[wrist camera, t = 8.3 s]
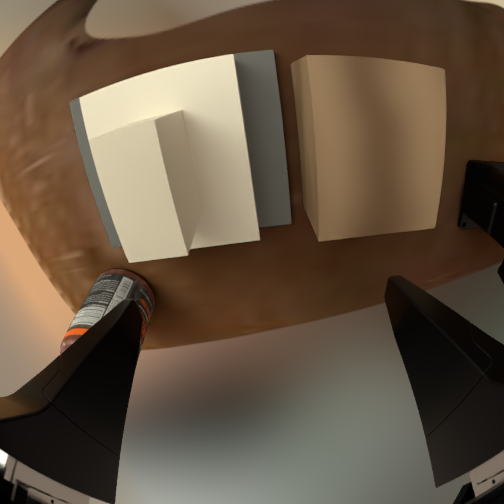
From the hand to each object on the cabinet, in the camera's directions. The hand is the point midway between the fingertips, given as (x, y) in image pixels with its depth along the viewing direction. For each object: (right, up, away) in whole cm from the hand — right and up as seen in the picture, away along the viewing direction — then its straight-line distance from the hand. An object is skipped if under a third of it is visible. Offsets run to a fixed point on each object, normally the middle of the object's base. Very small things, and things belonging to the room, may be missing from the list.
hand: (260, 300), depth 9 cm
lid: (-5, +8, +8) cm, 12 cm away
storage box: (+7, +10, +8) cm, 14 cm away
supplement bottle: (-12, -2, +15) cm, 19 cm away
